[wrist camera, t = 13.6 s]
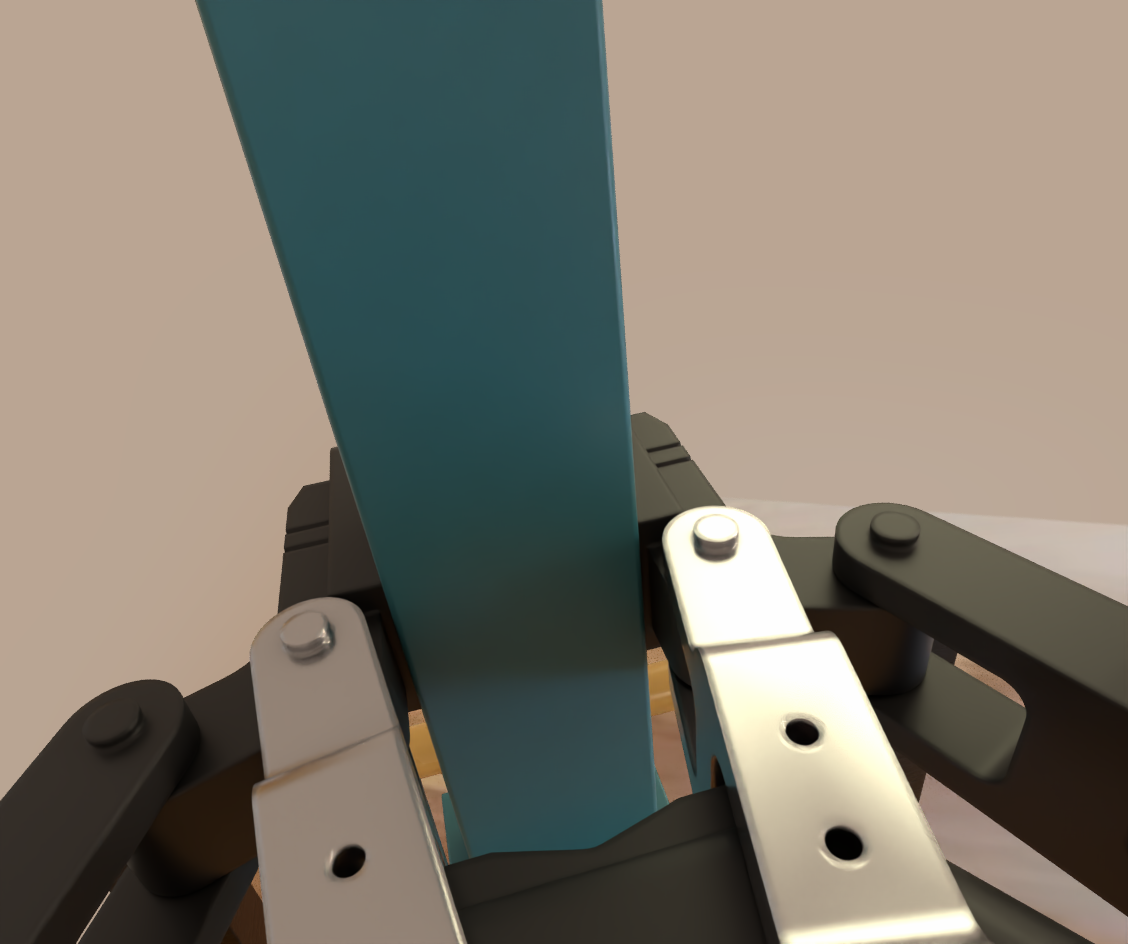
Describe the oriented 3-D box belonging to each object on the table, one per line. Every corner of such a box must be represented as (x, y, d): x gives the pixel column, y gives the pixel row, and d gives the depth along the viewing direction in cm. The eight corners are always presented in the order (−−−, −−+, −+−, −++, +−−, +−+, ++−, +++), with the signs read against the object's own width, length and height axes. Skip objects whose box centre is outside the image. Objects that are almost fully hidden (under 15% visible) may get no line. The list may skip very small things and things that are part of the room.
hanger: (726, 978, 12) (754, -339, 4) (480, 1057, 12) (-69, -274, 4) (578, 591, 20) (483, -137, 12) (425, 628, 20) (213, -106, 11)
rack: (959, 1103, 30) (1143, 724, 17) (308, 1337, 27) (-60, 1083, 14) (808, 825, 40) (855, 451, 27) (317, 972, 37) (105, 625, 24)
